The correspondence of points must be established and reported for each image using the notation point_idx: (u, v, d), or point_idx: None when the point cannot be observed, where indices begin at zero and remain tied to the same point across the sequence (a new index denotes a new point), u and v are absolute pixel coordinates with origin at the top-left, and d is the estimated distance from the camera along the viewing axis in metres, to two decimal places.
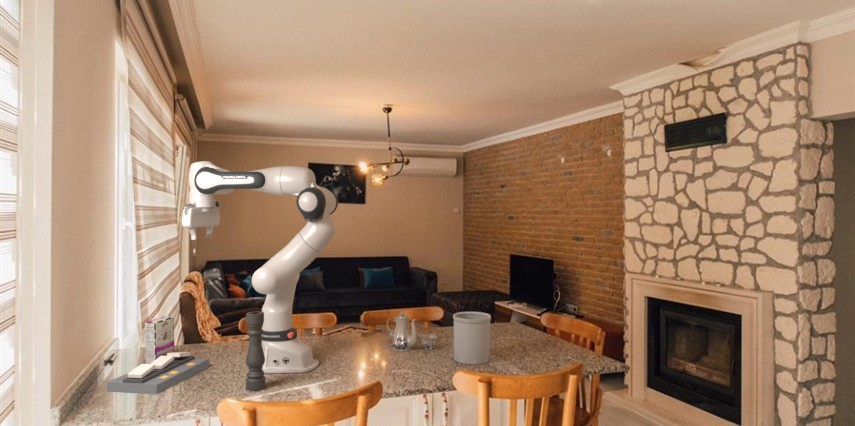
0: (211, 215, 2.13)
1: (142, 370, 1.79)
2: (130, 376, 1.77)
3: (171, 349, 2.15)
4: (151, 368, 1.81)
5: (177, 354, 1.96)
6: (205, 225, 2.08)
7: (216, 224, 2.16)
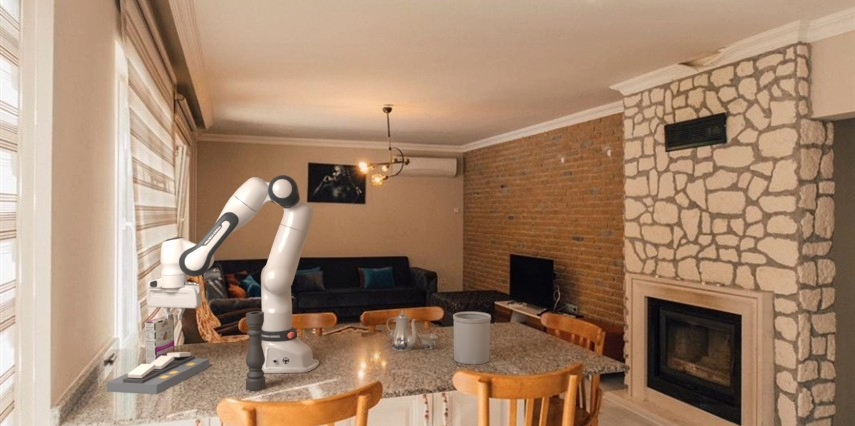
0: None
1: (142, 370, 1.79)
2: (130, 376, 1.77)
3: (171, 349, 2.15)
4: (151, 368, 1.81)
5: (177, 354, 1.96)
6: None
7: None
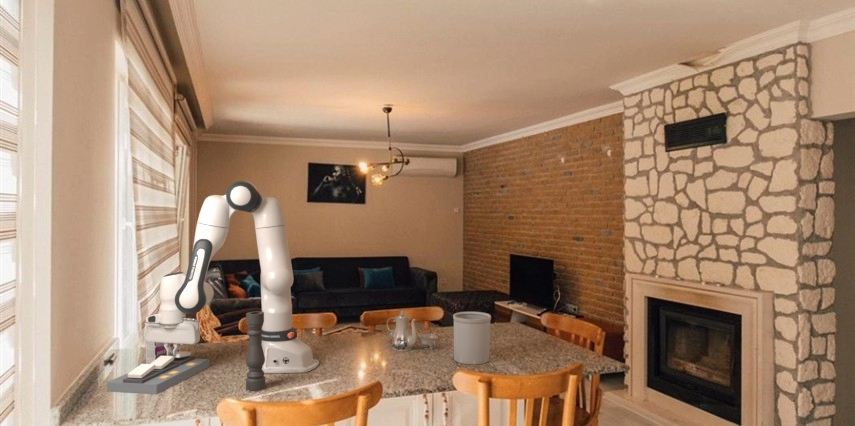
0: None
1: (142, 370, 1.79)
2: (130, 376, 1.77)
3: (171, 349, 2.15)
4: (151, 368, 1.81)
5: (177, 355, 1.96)
6: None
7: None
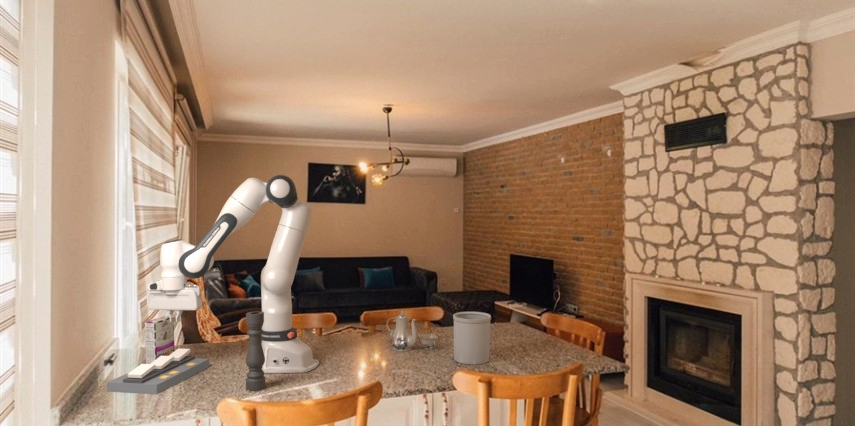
0: None
1: (142, 370, 1.79)
2: (130, 376, 1.77)
3: (171, 349, 2.15)
4: (151, 368, 1.81)
5: (177, 358, 1.96)
6: None
7: None
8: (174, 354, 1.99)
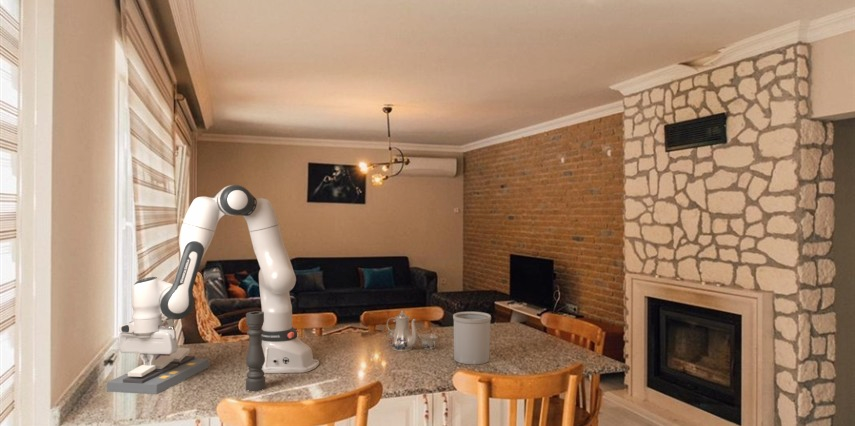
0: None
1: (142, 370, 1.79)
2: (130, 375, 1.77)
3: None
4: (151, 368, 1.81)
5: (177, 359, 1.96)
6: None
7: None
8: (174, 354, 1.99)
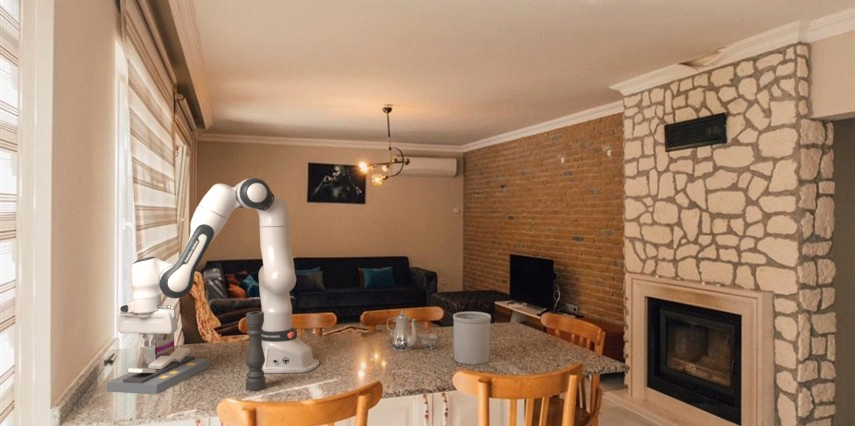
0: None
1: None
2: (131, 371, 1.77)
3: (171, 349, 2.15)
4: (151, 370, 1.81)
5: (177, 359, 1.96)
6: None
7: None
8: (174, 355, 1.99)
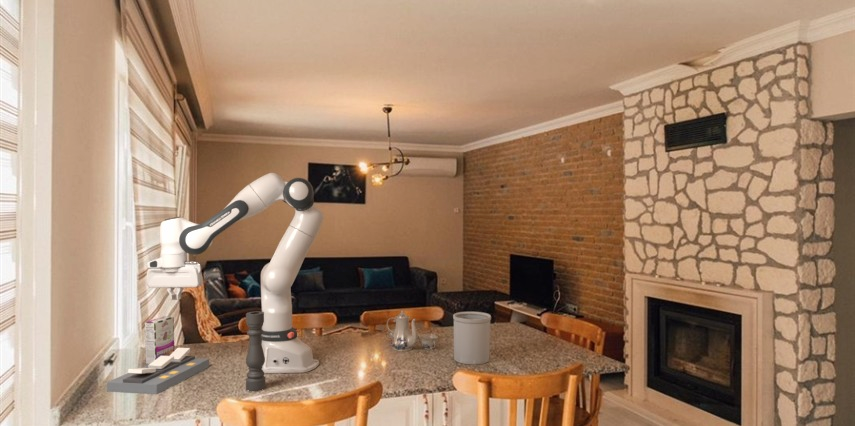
0: None
1: None
2: (131, 371, 1.77)
3: (171, 349, 2.15)
4: (151, 370, 1.81)
5: (177, 359, 1.96)
6: None
7: None
8: (174, 354, 1.99)
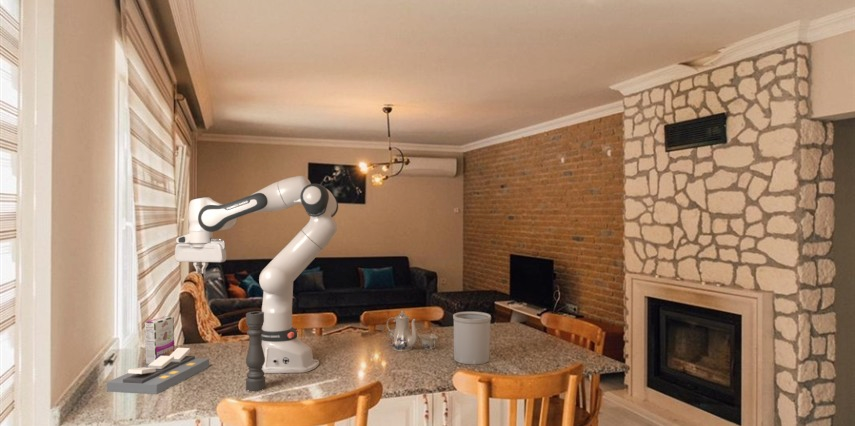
0: None
1: (143, 369, 1.79)
2: (131, 372, 1.77)
3: (171, 349, 2.15)
4: (151, 370, 1.81)
5: (177, 359, 1.96)
6: None
7: None
8: (174, 354, 1.99)
